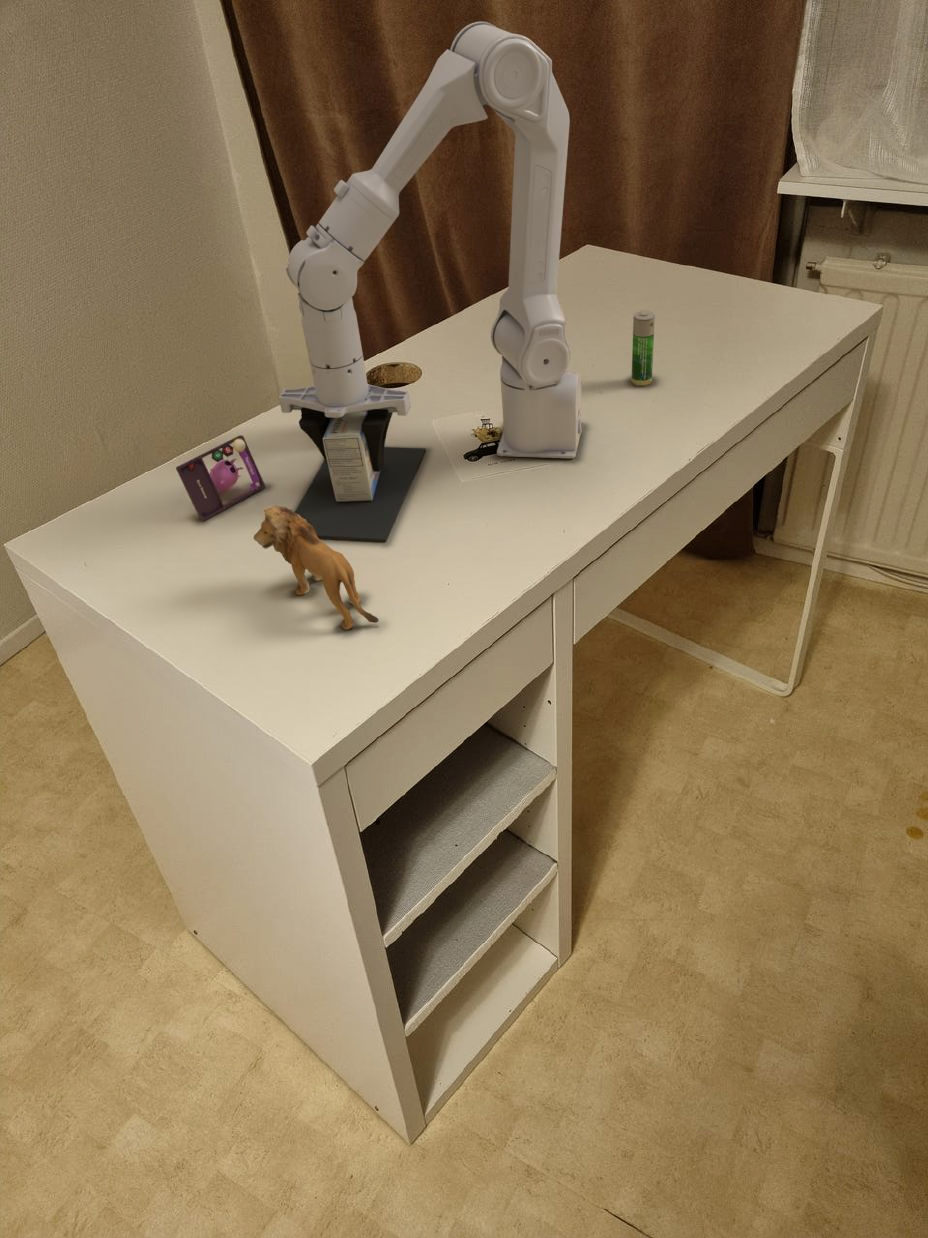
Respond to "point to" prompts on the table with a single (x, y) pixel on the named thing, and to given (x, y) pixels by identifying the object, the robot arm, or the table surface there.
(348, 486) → the medicine box
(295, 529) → the lion figurine
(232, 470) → the game card
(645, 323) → the battery
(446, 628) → the table surface
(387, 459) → the mat
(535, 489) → the table surface
